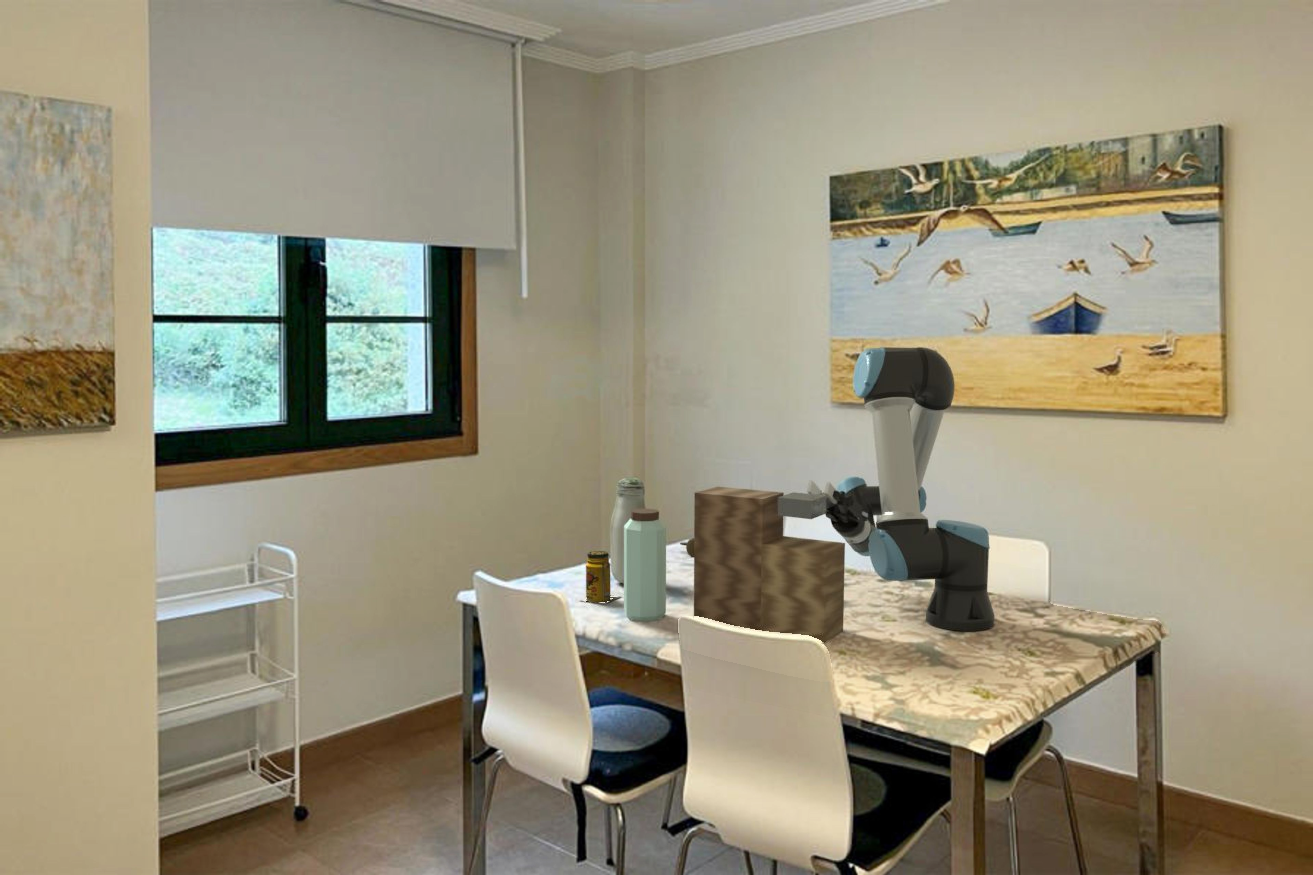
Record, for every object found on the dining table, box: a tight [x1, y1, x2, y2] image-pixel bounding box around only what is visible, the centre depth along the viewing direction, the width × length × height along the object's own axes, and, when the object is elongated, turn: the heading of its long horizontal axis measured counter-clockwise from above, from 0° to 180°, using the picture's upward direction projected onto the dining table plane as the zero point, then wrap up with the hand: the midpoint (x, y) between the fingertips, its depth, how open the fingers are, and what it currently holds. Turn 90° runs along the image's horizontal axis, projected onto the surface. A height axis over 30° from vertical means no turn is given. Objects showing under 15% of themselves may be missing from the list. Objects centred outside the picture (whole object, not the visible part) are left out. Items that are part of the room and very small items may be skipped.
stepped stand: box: [693, 486, 846, 644], centre depth 246 cm, size 32×11×30 cm, turn 59°
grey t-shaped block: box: [778, 491, 838, 520], centre depth 246 cm, size 8×21×4 cm, turn 149°
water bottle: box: [623, 508, 667, 622], centre depth 254 cm, size 10×10×25 cm
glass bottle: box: [609, 477, 647, 584], centre depth 287 cm, size 10×10×28 cm
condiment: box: [580, 550, 622, 605], centre depth 271 cm, size 7×8×12 cm
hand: (818, 486), depth 247 cm, fingers closed on grey t-shaped block, 3 cm apart
